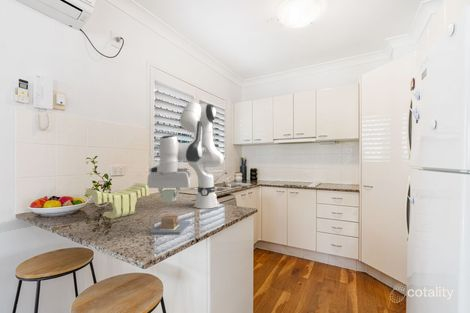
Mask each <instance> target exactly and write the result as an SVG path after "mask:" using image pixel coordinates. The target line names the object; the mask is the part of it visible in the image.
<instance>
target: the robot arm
mask: <svg viewBox="0 0 470 313" xmlns="http://www.w3.org/2000/svg"><path fill="white" fill-rule="evenodd" d="M216 116H217V110H216V107H215V105H214V104H211V103H208V104H202V103H201V104H200V103H198V102H196V101H189V102H188V103H186V105H185V107H184V108H183V110H182V112H181V114H180V117H179V123H180V126H181V127H182V129H184V130H186V131H187V132H189V133H192V134H193V137H192V138H193V139H192V141H191V142H179V141H178V137H177V135H173V134H172V135H171V134H170V135H162V136H161V137H160V140H159V149H158V150H159V152H158V154H159V157H160V159H159V162H158V163H159V164H158V165H156V166H153V167H150V168H149V169H148V172H149V174H148V175H147V183H146V184H147V185H148V187H149V189H157V190H158V193H159V194H160V198H162V191H163V189H176V193H175V194H174V197H176V198H178V197H179V192H180V190H181V189H183V188H185V189H187V188H190V187H191V170H190V169H188V168H186V167H185V168H183V167H181V168H179V162H183V163H184V162H188V165H189V166H190V167H191V168H192V169H193V170H194V172H195V173H196V176H197V182H198V183H197V184H198V186H197V193H196V194H195V204H193V207H194V208H197V209H203V210H204V209H213V208H218V207H220V202H219V200H218V199H217V194H216V192H215V191H216V190H215V189H216V188H215V177H214V174H213V173H212V172H209V171H208V170H207V169H206V168H216V167H221V166H222V165H223V164H224V161H225V158H224V155H223V153H222V152H221V151H219V150H218V149H217V147H216V145H215V142H214V130H213V124H212V123H213V121H214V120H215V118H217V117H216ZM203 148H204V149H205V151H203Z"/></svg>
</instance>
